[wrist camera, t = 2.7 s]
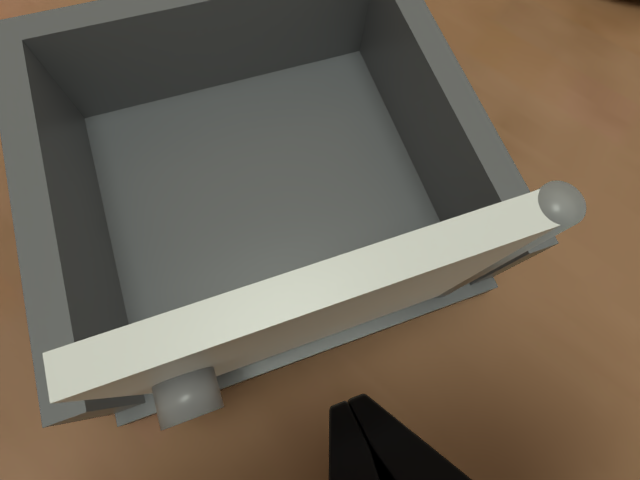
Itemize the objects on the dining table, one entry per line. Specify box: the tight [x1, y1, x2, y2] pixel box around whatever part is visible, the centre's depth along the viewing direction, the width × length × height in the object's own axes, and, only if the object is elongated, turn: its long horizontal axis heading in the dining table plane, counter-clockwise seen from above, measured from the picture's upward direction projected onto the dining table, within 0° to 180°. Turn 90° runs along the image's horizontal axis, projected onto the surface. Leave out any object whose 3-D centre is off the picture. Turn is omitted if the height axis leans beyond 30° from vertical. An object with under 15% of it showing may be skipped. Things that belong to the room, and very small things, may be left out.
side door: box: [42, 181, 586, 430], centre depth 13 cm, size 13×2×9 cm, turn 110°
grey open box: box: [0, 0, 558, 428], centre depth 18 cm, size 18×17×7 cm
